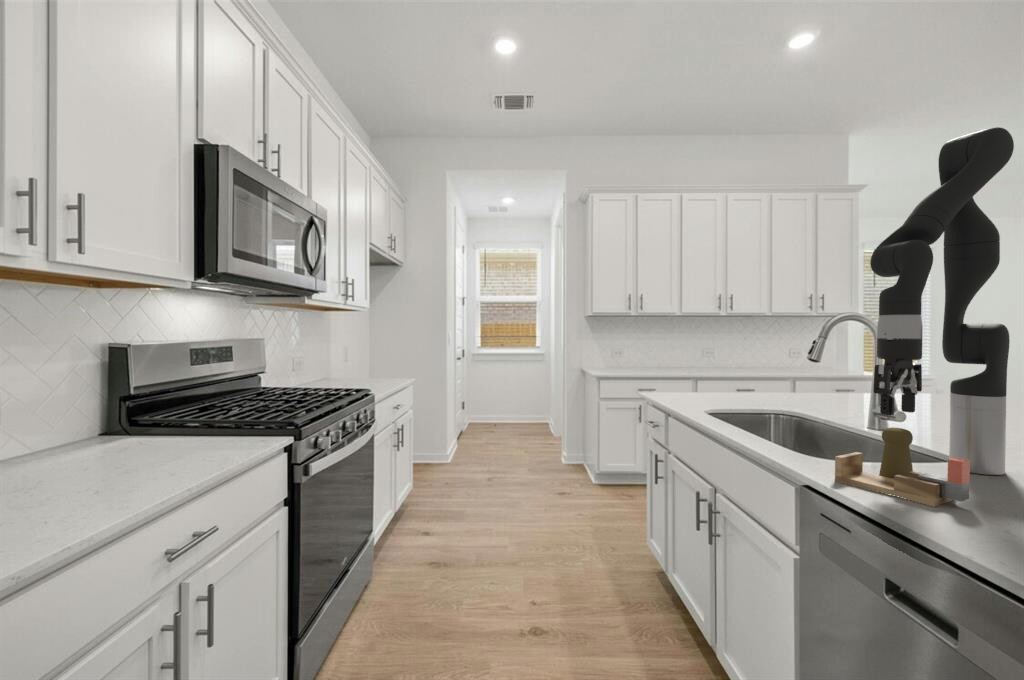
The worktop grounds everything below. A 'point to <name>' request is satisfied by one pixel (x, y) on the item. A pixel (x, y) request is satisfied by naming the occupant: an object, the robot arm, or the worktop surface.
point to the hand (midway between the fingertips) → (897, 413)
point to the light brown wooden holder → (887, 481)
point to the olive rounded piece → (896, 453)
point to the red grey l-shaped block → (952, 480)
